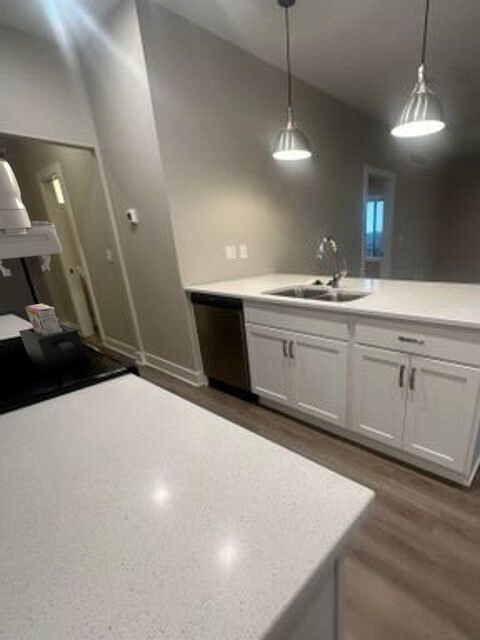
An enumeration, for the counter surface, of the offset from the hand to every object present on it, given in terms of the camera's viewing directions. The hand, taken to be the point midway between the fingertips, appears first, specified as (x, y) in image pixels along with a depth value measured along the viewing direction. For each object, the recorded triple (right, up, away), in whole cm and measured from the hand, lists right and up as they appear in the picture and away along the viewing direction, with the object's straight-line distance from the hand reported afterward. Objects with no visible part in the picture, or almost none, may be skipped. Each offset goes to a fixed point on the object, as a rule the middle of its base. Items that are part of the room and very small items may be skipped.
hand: (27, 273), depth 99 cm
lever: (+10, -21, +2) cm, 23 cm away
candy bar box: (+1, -24, +10) cm, 26 cm away
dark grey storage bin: (+1, -26, +11) cm, 28 cm away
